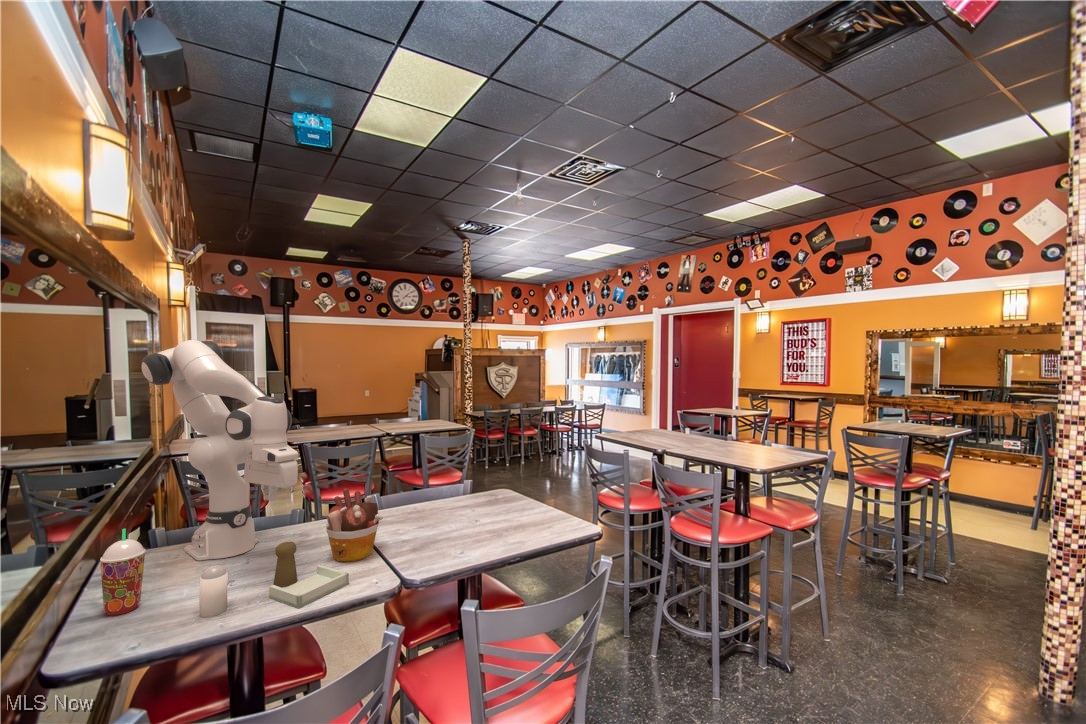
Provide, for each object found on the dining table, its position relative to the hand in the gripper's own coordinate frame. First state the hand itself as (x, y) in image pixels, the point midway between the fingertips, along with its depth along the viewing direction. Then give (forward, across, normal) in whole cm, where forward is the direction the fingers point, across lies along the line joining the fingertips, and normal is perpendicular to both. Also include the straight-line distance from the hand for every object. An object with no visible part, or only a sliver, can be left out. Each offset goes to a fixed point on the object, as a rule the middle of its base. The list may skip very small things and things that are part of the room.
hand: (269, 500), depth 133 cm
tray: (+22, +18, 0) cm, 29 cm away
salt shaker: (+22, +7, -18) cm, 29 cm away
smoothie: (+22, -14, -28) cm, 38 cm away
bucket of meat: (+22, +8, +22) cm, 33 cm away
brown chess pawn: (+22, +8, 0) cm, 24 cm away
